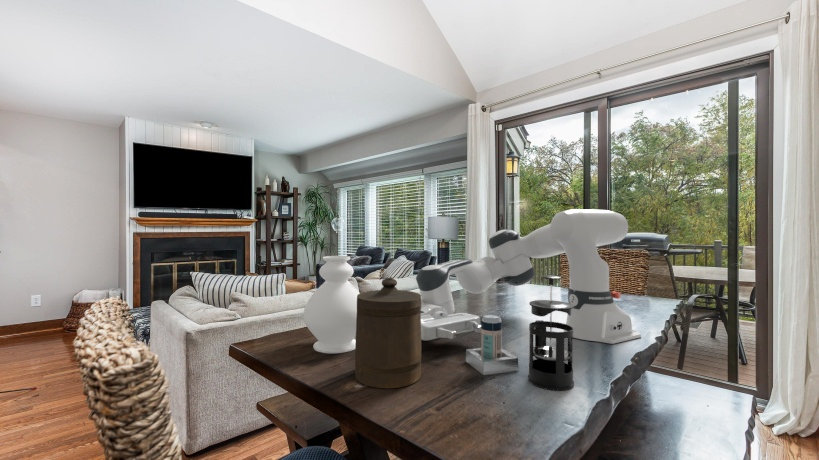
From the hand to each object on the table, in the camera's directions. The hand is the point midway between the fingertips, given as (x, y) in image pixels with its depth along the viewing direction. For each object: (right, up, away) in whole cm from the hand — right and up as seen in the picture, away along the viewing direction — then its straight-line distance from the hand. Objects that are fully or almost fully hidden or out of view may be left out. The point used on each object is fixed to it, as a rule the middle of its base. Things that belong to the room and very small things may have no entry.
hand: (467, 332), depth 95 cm
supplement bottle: (+5, -7, -6) cm, 10 cm away
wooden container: (-20, -7, -12) cm, 24 cm away
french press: (+16, -7, -14) cm, 22 cm away
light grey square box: (+5, -6, -6) cm, 10 cm away
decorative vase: (-36, -6, +9) cm, 37 cm away
